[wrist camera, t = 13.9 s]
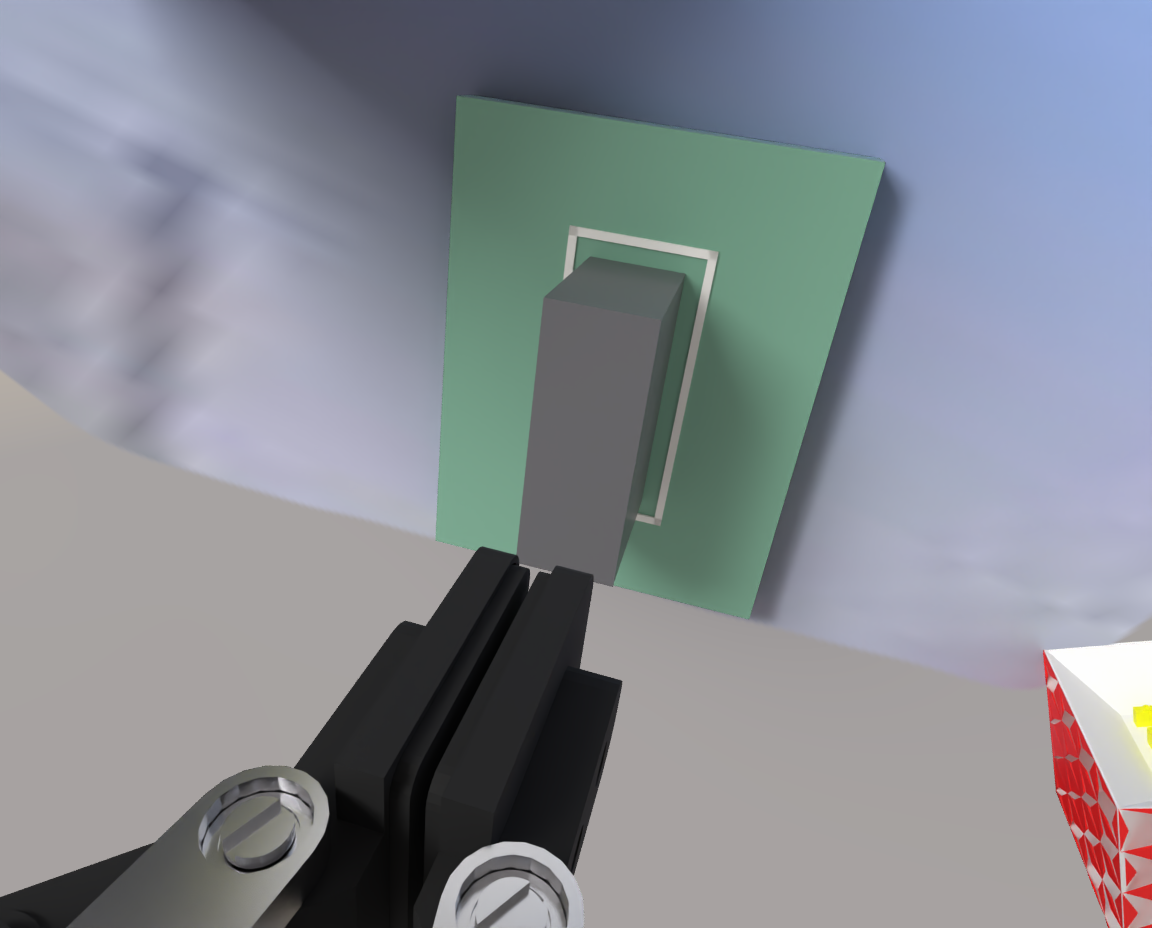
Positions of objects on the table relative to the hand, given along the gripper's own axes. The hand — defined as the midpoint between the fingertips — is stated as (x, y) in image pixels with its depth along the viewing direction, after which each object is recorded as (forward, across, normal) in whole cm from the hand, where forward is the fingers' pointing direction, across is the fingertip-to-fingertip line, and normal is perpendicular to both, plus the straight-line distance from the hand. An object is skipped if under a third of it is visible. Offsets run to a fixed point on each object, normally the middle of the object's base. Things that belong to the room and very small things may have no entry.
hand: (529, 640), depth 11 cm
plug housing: (+18, +2, +3) cm, 19 cm away
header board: (+20, +2, +3) cm, 20 cm away
